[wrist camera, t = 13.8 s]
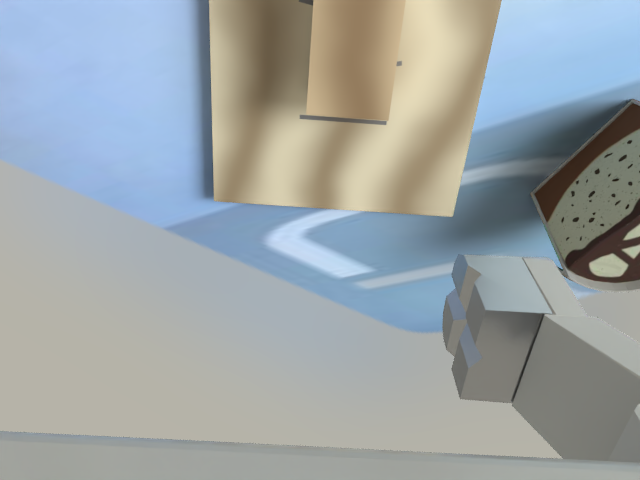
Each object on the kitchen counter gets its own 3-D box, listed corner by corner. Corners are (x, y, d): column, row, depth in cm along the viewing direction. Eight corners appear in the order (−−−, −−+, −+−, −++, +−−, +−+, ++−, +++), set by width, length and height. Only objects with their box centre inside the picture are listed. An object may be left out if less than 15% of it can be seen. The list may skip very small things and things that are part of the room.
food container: (566, 247, 46) (622, 329, 38) (515, 206, 45) (561, 283, 36) (702, 133, 41) (801, 198, 33) (650, 81, 39) (742, 136, 31)
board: (216, 193, 44) (214, 201, 43) (210, -74, 34) (207, -73, 33) (449, 209, 45) (452, 216, 44) (506, -49, 35) (512, -47, 34)
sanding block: (307, 91, 38) (306, 114, 35) (316, -41, 34) (315, -31, 30) (381, 97, 39) (388, 120, 35) (399, -34, 34) (409, -23, 31)
